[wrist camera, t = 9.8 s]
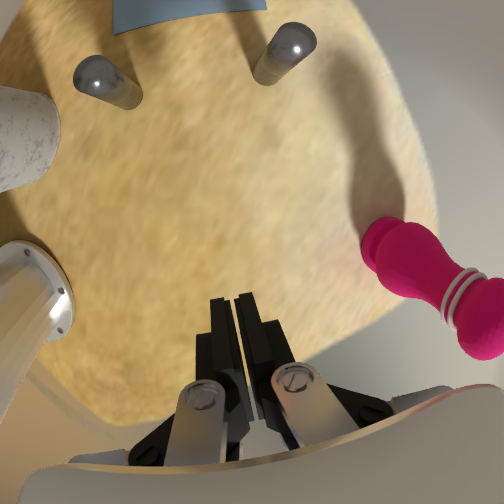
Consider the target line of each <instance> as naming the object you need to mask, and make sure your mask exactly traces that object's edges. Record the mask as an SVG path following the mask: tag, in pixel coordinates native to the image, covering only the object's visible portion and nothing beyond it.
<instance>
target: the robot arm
mask: <svg viewBox="0 0 504 504" xmlns="http://www.w3.org/2000/svg"><path fill="white" fill-rule="evenodd" d="M234 302H235V308H236V313H237V318H238V323H239V329H240V334H241V339H242V344H243V349H244V354H245V359H246V364H247V368H248V373H249V378H250V382H251V387H252V391H253V395H254V400H255V404H256V408H257V413H258V417H259V420H260V419H265V421H266V425H267V427H268V428H270V429H272V430H274V431H277V432H279V436H280V438H281V440H282V443H283V445H284V447H285V449H286V450H287V451H286V452H282V453H277V454H273V455H268V456H263V457H257V458H251V459H246V460H242V450H243V447H242V446H243V443H242V438H243V437H244V436H245V435H246V434H247V433H248V432H249V430H250V426H249V422H251V421H254V416H253V412H252V407H251V402H250V397H249V392H248V387H247V382H246V376H245V371H244V366H243V361H242V355H241V351H240V346H239V342H238V337H237V332H236V328H235V323H234V318H233V314H232V309H231V304H230V300H226V301H224V297H222V298H217V299H211V300H210V312H211V332H209V333H203V334H197V335H196V381H195V382H192V383H190V384H188V385H187V386H185V388H184V389H183V390H182V391H181V393H180V395H179V399H178V403H177V407H176V412H175V413H174V414H173V415H172V416H171V417H169V418H168V419H167V420H166V421H165V422H163V423H162V424H161V425H160V426H159V427H157V428H156V429H155V430H154V431H153V432H151V433H150V434H149V435H148V436H146V437H145V438H144V439H143V440H141V441H140V442H139V443H137V444H136V445H135V446H134V447H133V448H132V449H131V450H130V451H126V450H125V449H120V450H114V451H108V452H100V453H93V454H84V455H78V456H75V457H73V458H72V459H71V460H70V461H69V462H68V463H63V464H54V465H50V466H45V467H42V468H39V469H37V470H35V471H33V472H31V473H30V474H29V475H28V477H27V478H26V480H25V481H24V483H23V485H22V487H21V490H20V493H19V496H18V500H17V503H16V504H504V390H502V389H501V388H499V387H497V386H495V385H491V384H475V385H470V386H464V387H461V388H456V389H452V388H451V387H449V386H444V385H443V386H436V387H433V388H429V389H425V390H422V391H418V392H414V393H410V394H406V395H401V396H397V397H392V398H391V401H384V400H381V399H379V398H375V397H371V396H368V395H364V394H360V393H357V392H353V391H350V390H346V389H343V388H340V387H336V386H333V385H330V384H327V383H325V381H324V380H323V379H322V377H321V376H320V375H319V373H318V372H317V371H316V370H315V369H314V368H313V367H312V366H310V365H308V364H306V363H301V362H295V359H294V357H293V354H292V352H291V349H290V347H289V345H288V342H287V340H286V337H285V335H284V332H283V330H282V327H281V325H280V323H279V321H278V319H277V320H273V321H268V322H263V323H262V322H261V319H260V316H259V313H258V309H257V306H256V303H255V300H254V297H253V293H252V292H249V293H244V294H239V298H237V299H234ZM74 315H75V302H74V297H73V293H72V290H71V287H70V285H69V282H68V280H67V278H66V276H65V274H64V273H63V271H62V270H61V268H60V267H59V265H58V264H57V263H56V261H55V260H54V259H53V258H52V257H51V256H50V255H49V254H48V253H47V252H46V251H44V250H43V249H42V248H40V247H39V246H37V245H35V244H34V243H31V242H28V241H25V240H14V241H10V242H8V243H7V244H5V245H3V246H2V247H1V248H0V424H1V422H2V420H3V417H4V416H5V414H6V412H7V409H8V408H9V406H10V403H11V401H12V399H13V397H14V396H15V394H16V392H17V390H18V388H19V386H20V384H21V382H22V380H23V379H24V377H25V375H26V373H27V372H28V370H29V368H30V366H31V365H32V363H33V361H34V359H35V358H36V356H37V354H38V353H39V351H40V350H41V348H42V346H43V345H44V343H45V342H53V341H57V340H59V339H61V338H63V337H64V336H65V335H66V334H67V332H68V331H69V329H70V328H71V326H72V323H73V321H74Z"/></svg>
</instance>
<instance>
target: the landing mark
mask: <svg viewBox="0 0 504 504" xmlns="http://www.w3.org/2000/svg"><path fill="white" fill-rule="evenodd" d="M248 10H267V7H266V2H265V0H113V35H116V34H119V33H122V32H126V31H129V30H132V29H136V28H140V27H143V26H147V25H151V24H155V23H160V22H164V21H169V20H174V19H179V18H185V17H190V16H197V15H204V14H212V13H221V12H232V11H248Z"/></svg>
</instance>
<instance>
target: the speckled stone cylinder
mask: <svg viewBox="0 0 504 504" xmlns="http://www.w3.org/2000/svg"><path fill="white" fill-rule="evenodd" d="M59 139H60V118H59V113H58V110H57V108H56V105H55V104H54V102H53V101H52V100H51V98H49V97H48V96H46V95H45V94H43V93H39V92H31V91H26V90H21V89H16V88H11V87H6V86H1V85H0V193H1V192H4V191H7V190H10V189H13V188H16V187H19V186H24V185H29V184H31V183H33V182H35V181H37V180H38V179H39V178H40V177H41V176H42V175H44V173H45V172H46V171H47V169H48V168H49V167H50V165H51V163H52V161H53V159H54V157H55V155H56V152H57V149H58V145H59Z"/></svg>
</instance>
